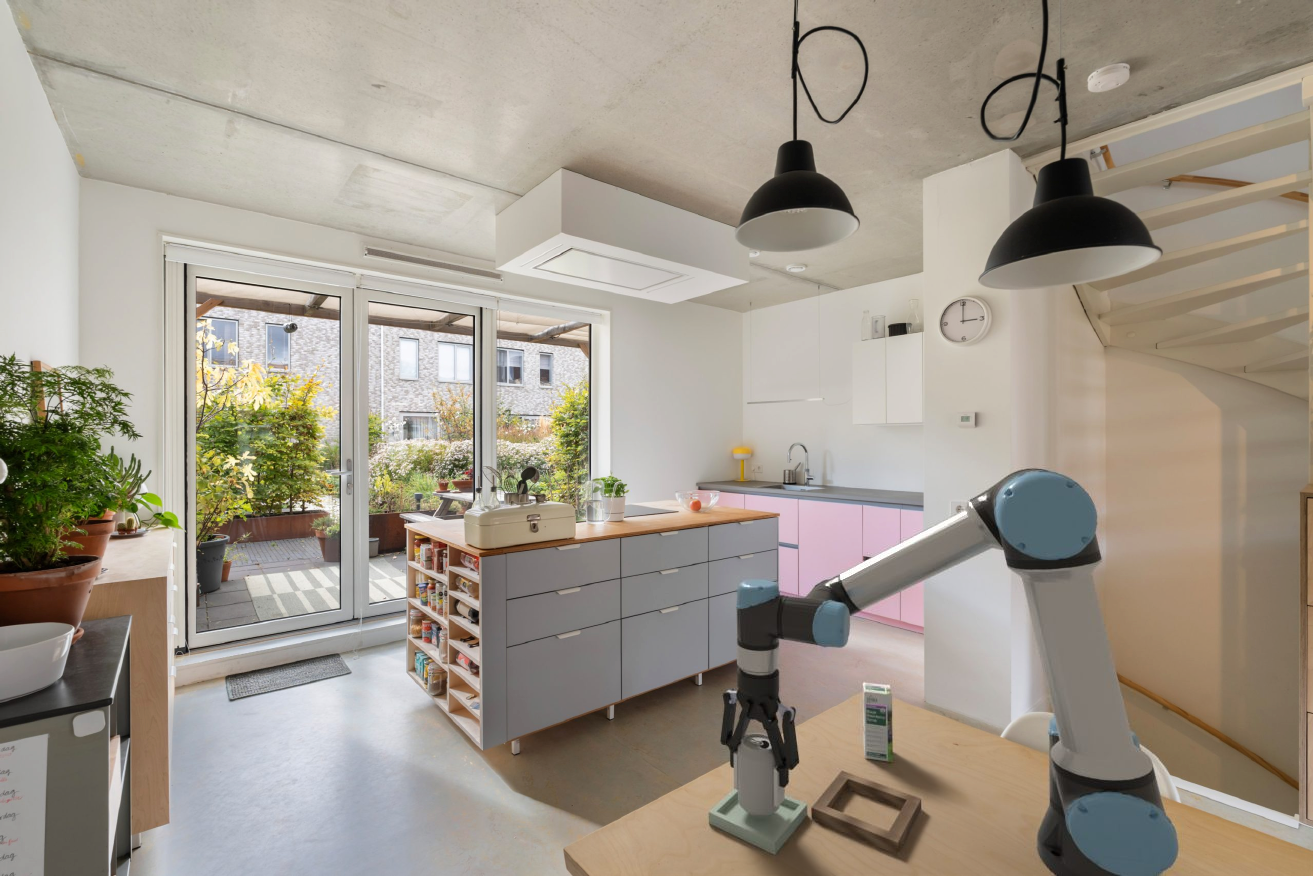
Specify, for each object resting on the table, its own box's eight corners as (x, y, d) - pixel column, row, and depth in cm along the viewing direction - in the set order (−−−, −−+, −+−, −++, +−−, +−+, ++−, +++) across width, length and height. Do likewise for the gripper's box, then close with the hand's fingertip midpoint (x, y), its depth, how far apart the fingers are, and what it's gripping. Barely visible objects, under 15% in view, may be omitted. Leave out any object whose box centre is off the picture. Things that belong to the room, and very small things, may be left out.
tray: (807, 815, 106) (807, 804, 106) (774, 855, 96) (774, 842, 96) (744, 789, 114) (744, 778, 114) (708, 823, 104) (708, 812, 104)
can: (780, 822, 101) (779, 753, 101) (736, 817, 102) (736, 749, 102) (780, 796, 108) (779, 732, 108) (739, 792, 110) (739, 728, 110)
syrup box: (864, 759, 125) (863, 691, 125) (863, 745, 131) (862, 680, 131) (892, 763, 123) (892, 694, 123) (890, 749, 129) (889, 683, 129)
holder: (921, 809, 108) (921, 798, 108) (897, 855, 96) (897, 842, 96) (841, 780, 117) (841, 770, 117) (811, 818, 105) (811, 807, 105)
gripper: (819, 674, 102) (820, 805, 102) (721, 649, 115) (721, 766, 114) (801, 688, 96) (802, 827, 96) (699, 660, 109) (700, 783, 109)
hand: (758, 794), depth 105 cm, fingers closed on can, 7 cm apart
